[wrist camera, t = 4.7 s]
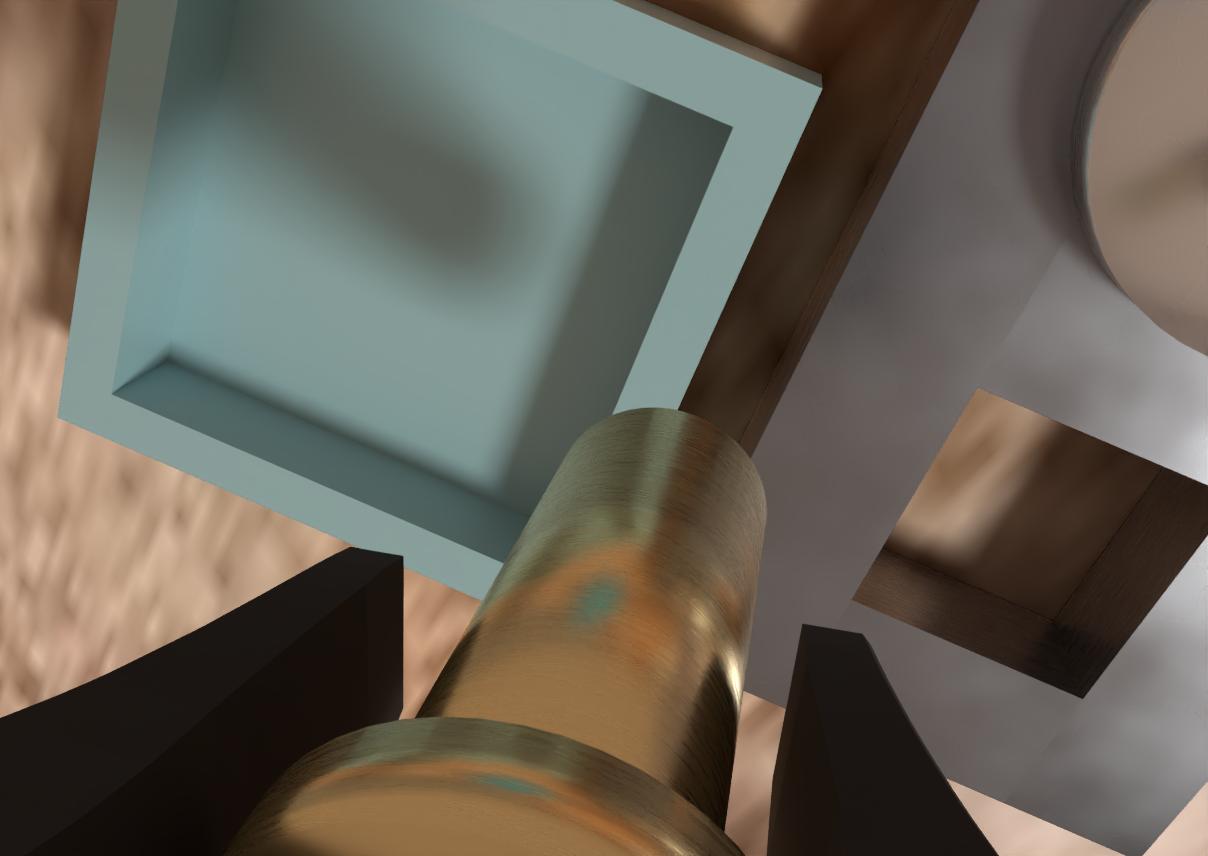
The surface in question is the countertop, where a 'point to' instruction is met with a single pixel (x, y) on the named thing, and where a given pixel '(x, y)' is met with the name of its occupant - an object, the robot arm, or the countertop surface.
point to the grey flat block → (1025, 377)
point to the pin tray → (412, 247)
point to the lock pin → (569, 677)
